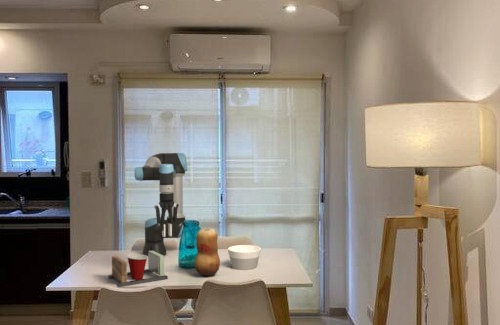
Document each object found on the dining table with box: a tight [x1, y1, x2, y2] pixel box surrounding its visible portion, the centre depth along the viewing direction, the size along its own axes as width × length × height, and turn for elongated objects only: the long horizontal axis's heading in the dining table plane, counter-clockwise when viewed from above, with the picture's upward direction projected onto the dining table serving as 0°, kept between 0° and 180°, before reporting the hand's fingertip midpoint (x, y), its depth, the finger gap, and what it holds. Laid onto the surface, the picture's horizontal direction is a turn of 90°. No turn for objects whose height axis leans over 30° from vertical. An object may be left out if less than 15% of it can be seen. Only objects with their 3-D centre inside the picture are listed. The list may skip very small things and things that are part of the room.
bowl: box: [227, 244, 262, 271], centre depth 268 cm, size 19×19×11 cm
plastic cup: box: [126, 253, 148, 281], centre depth 245 cm, size 11×11×12 cm
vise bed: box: [107, 255, 169, 288], centre depth 245 cm, size 25×19×12 cm
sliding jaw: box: [147, 251, 165, 276], centre depth 250 cm, size 3×16×10 cm, turn 33°
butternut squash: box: [193, 227, 221, 277], centre depth 250 cm, size 14×13×25 cm
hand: (166, 235), depth 254 cm, fingers open, 3 cm apart
